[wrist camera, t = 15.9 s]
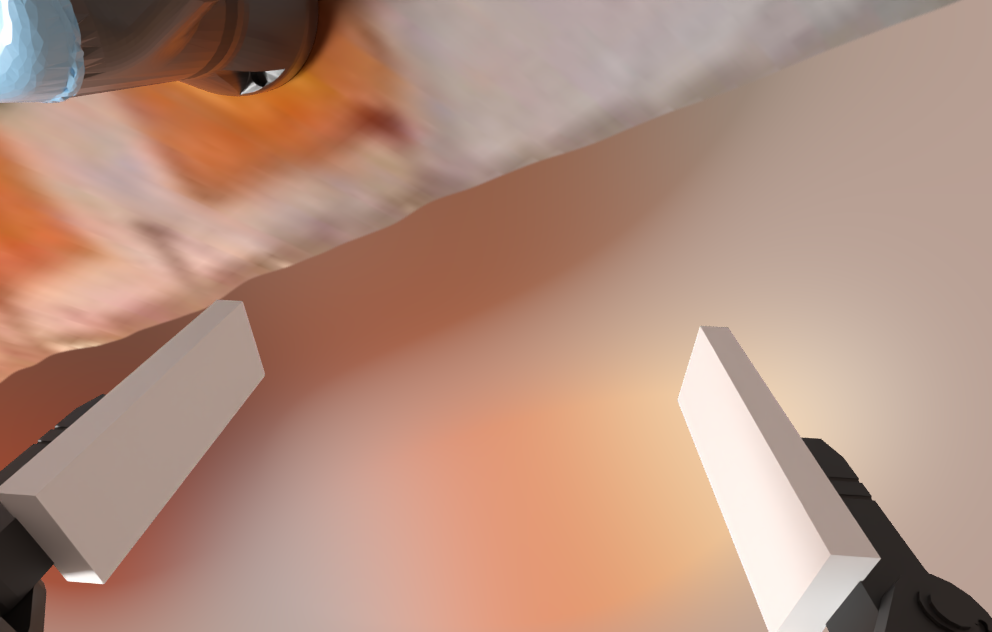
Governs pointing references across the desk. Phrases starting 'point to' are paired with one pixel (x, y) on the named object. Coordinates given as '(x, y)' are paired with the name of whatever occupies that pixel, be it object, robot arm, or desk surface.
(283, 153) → the desk surface
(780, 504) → the robot arm
